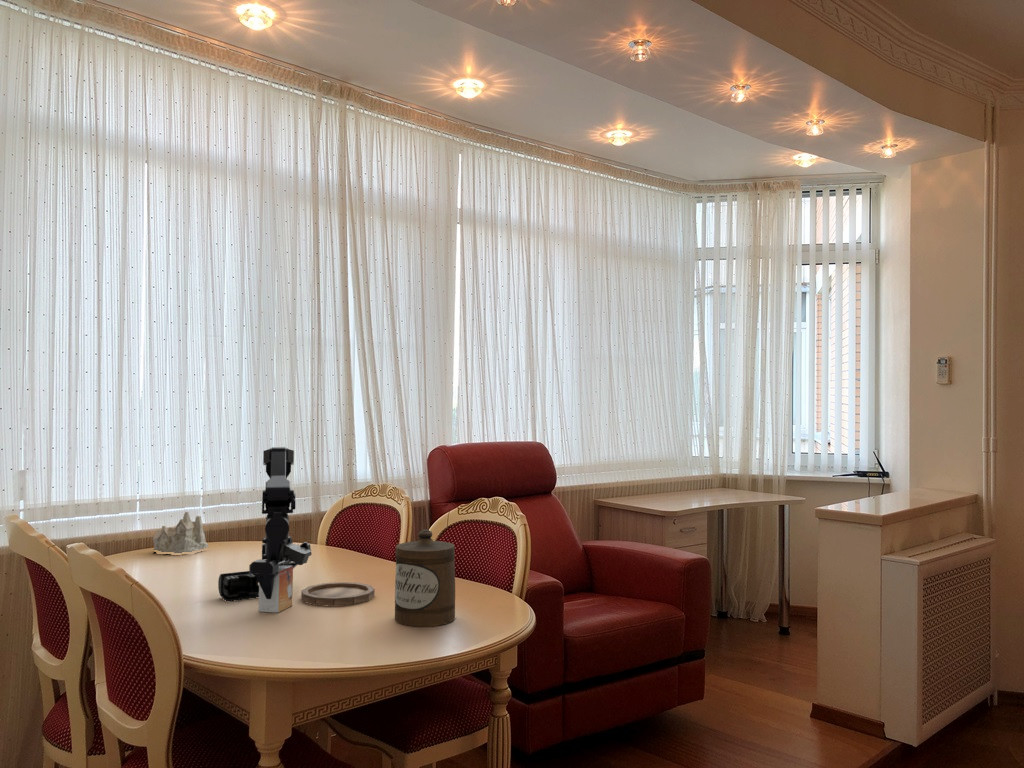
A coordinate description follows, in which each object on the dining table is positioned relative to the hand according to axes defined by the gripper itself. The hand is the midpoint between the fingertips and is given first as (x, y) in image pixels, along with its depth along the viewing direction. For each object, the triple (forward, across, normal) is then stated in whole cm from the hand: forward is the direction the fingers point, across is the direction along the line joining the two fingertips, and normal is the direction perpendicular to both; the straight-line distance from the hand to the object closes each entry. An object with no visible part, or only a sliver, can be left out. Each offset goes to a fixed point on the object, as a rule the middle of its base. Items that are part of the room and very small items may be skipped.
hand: (276, 595), depth 209 cm
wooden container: (+4, -2, -40) cm, 40 cm away
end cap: (+4, +10, +15) cm, 18 cm away
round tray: (+4, +15, -11) cm, 19 cm away
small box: (+4, 0, 0) cm, 4 cm away
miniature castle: (+4, +69, +68) cm, 97 cm away
